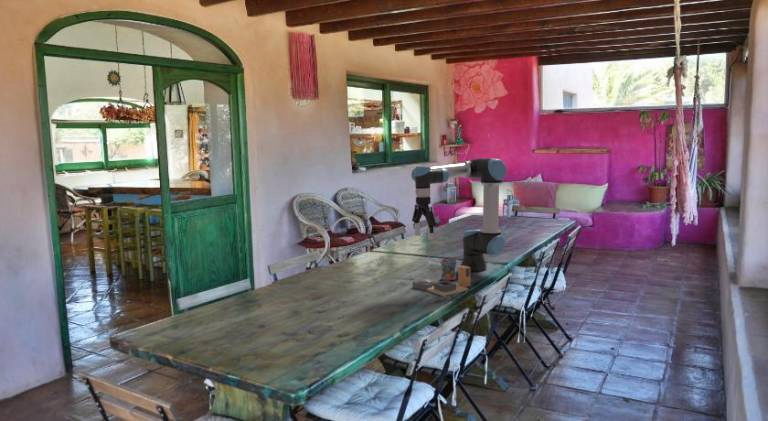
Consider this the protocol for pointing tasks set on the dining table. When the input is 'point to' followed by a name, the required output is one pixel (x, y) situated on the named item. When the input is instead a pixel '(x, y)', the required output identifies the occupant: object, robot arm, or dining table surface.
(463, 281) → the plug
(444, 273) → the mug
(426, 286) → the grey domed square block
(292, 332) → the dining table surface
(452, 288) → the board
